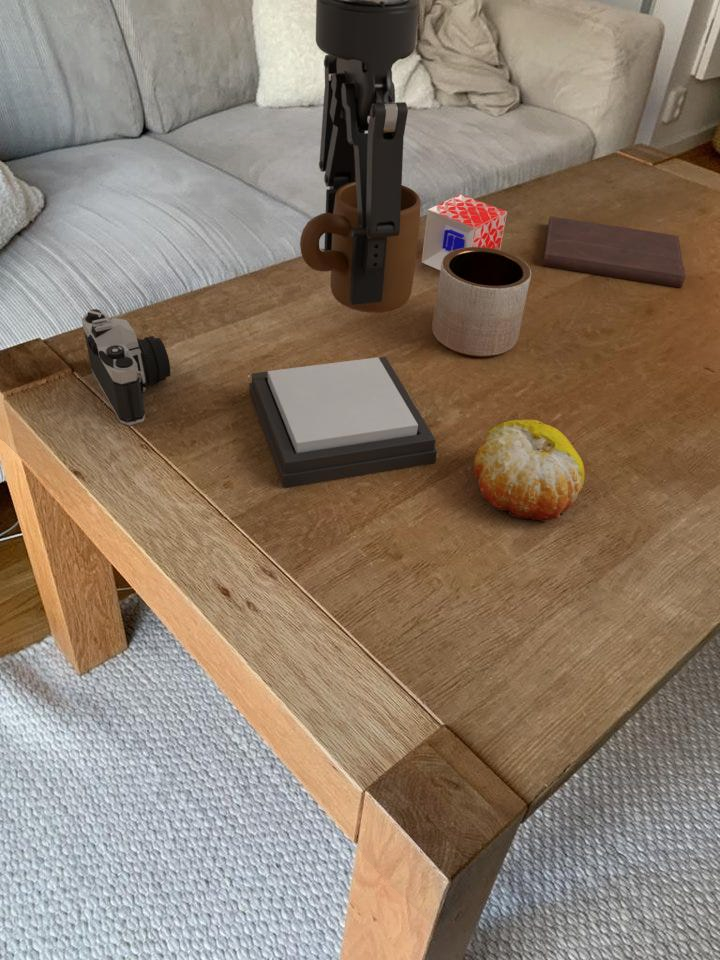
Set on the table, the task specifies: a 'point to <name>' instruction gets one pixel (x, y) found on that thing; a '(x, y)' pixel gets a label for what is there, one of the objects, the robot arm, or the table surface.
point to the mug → (340, 257)
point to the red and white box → (461, 228)
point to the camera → (123, 363)
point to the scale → (338, 459)
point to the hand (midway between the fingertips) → (351, 278)
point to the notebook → (614, 251)
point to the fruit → (529, 470)
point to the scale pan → (340, 404)
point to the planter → (480, 301)
